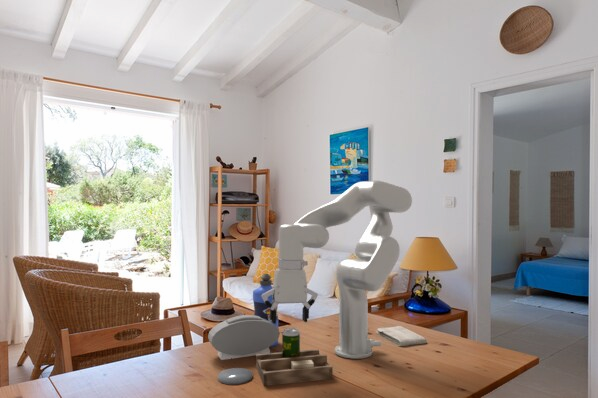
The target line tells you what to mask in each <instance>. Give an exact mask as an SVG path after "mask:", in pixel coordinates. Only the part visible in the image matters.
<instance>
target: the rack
mask: <svg viewBox="0 0 598 398" xmlns="http://www.w3.org/2000/svg"><path fill="white" fill-rule="evenodd" d="M303 360H312V362H313V363H314V367H308V368H298V369H291V361H303ZM255 369H256V370H257V373H258V375H259V377H260V381H261V382H262V385H263V387H265V386H267V387H268V386H276V385H285V384H296V383H305V382H313V381H323V380H331V379H332V380H333V365H331V364H329V363H328V355H327V354H321V353H320V349H319V348H316V349H315V348H313V349H304V350H300V357H291V358H282V351H280V352H270V353H267V354H256V355H255Z"/></svg>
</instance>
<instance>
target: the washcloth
mask: <svg viewBox="0 0 598 398" xmlns="http://www.w3.org/2000/svg"><path fill="white" fill-rule="evenodd" d="M375 332H376V334H377V335H378V336H379V337H381V338H382V339H384V340H386V341H388V342H390V343H391V344H394V345H396V346H398V347H407V346H408V347H409V346H413V345H422V344H426V343H427V338H426V337H424V336H422V335H421V334H418V333H416V332H415V331H412V330H410V329H408V328H406V327H404V326H401V325H397V326H392V327H388V326H387V327H386V326H384V327H379V328H377V329H376V331H375Z"/></svg>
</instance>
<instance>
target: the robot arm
mask: <svg viewBox="0 0 598 398" xmlns="http://www.w3.org/2000/svg"><path fill="white" fill-rule="evenodd" d="M412 198H413V197H412V195H411V193H410V192H409V191H408V189H406V188H404V187H402V186H399V185H395V184H392V183H388V182H385V181H381V180H366V181H365V180H364V181H358V182H355V183H354V184H352V185H351V186H350V187H348V188H347V190H345V191H344V192H343V193H341V194H340V195H338V197H336V198H334V200H332V201H331V202H329V203H326V204H324V205H321V206H320V207H318V208H315V209H314V210H312V211H309V212H308V213H307V214H305V215H303V216H302V217H301V218H300V219H299V220H297V221H296V222H294V224H288V223H287V224H282V225H280V226H279V229H278V259H277V261H278V268H275V271H274V276H273V280H272V282H273V283H272V287H273V289H271V290H269V291H267V292H265V293H264V294H262V298H263V300H264V302H265V304H266V305H267V306H268V307H269V308H270V320H272V322H273V324H275V323H276V310H275V308H276V307H277V305H279V304H281V305H282V304H284V305H285V304H302V306H303V307H302V314H301V316H302V318H301V319H302V321H303V322H304V323H308V319H310V316H309V315H310V309H311V307H312V306H313V304H315V301H316V300H317V298H318V296H319V295H318V293H317V292H315V291H314V290H311V289H309V288H308V284H307V283H308V282H307V275H306V269H304V268H305V267H307V266H308V265H309V264H308V261H307V260H304V248H309V249H320V248H323V247H324V246H326V245H327V243H328V242H329V240H330V232H329V231H328V228H332V227H336V226H340V225H343V224H346V223H348V222H350V221H351V220H352V219H353V218H354V217H355V216H357V215H358V214H359V213H360V212H361V211H363V210H364V209H365V208H366V207H369V211H370V220H369V223H368V225H367V226H366V229H365V230H364V232H363V233H362V234H361V237H360V238H359V240H358V241H357V243H356V245H355V248H354V252H355V255H356V257H357V258H358V259H356V258H346V259H343V260H342V261H341V262H340V263H339V264H338V265H337V268H336V271H335V272H336V281H337V286H338V295H339V296H338V298H339V299H338V300H339V304H338V305H339V306H338V307H339V309H338V310H339V312H338V313H339V318H338V320H339V321H338V325H339V340H338V341H339V344H338V345H336V346H335V348H334V353H335V355H337V356H339V357H342V358H346V359H355V360H356V359H358V360H359V359H366V358H370V356H372V355H373V349H372V348H373V347H381V346H382V341H381V340H380V339H379V340H375V339H374V338H373V339H370V338H369V334H368V332H369V331H368V327H369V326H368V325H369V323H368V321H369V319H368V318H369V317H368V315H369V314H368V312H369V311H368V309H369V308H368V307H369V306H368V305H369V301H368V296H367V293H366V291H367V292H377V291H379V290H380V289H381V288H382V287H383V286H384V284H385V283H386V282H387V279H388V278H389V276H390V274H391V272H392V271H393V270H394V267H395V266H396V263H397V262H398V260H399V257H400V250H401V249H400V244H399V242H398V240H396V239H395V238H394V237H393V236H391V235H392V232H393V230H394V229H393V223H392V219H391V216H390V213H395V214H396V213H400V214H401V213H405V212H407V211H409V209H410V208H411V207H412V203H413V199H412ZM308 294H309V296H310V295H311V297H310V299H309V300H308ZM270 295H272V298H273V301H272V303H270V302H269V301H268V296H270ZM307 300H308V301H307ZM277 308H278V307H277Z"/></svg>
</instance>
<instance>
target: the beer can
mask: <svg viewBox="0 0 598 398" xmlns="http://www.w3.org/2000/svg"><path fill="white" fill-rule="evenodd" d="M281 335H282V336H281V337H282V338H281V340H282V341H281V344H282V345H281V350H282V351H281V352H282V358H291V357H300V351H301V333H300V329H299V328H296V327H287V328H283V329H282V334H281Z"/></svg>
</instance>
